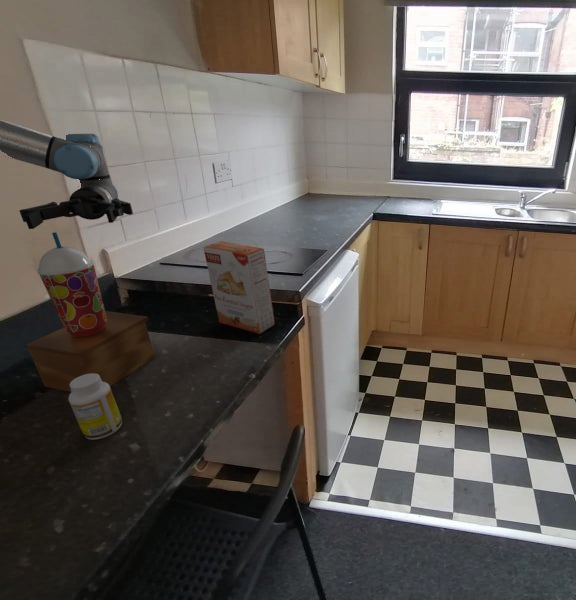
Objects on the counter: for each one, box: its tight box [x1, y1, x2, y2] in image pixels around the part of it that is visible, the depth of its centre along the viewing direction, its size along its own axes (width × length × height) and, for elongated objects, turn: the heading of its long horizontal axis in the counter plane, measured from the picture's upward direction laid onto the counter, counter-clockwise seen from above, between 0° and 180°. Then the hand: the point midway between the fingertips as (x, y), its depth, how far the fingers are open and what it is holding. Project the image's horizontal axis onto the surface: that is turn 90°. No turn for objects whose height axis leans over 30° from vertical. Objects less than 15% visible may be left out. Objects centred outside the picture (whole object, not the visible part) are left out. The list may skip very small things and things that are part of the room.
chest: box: [27, 322, 156, 393], centre depth 83 cm, size 15×13×9 cm
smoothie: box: [36, 232, 107, 337], centre depth 77 cm, size 8×8×20 cm
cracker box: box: [202, 240, 276, 335], centre depth 99 cm, size 14×6×21 cm, turn 65°
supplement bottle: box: [67, 373, 123, 441], centre depth 66 cm, size 6×6×10 cm
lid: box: [26, 310, 149, 357], centre depth 81 cm, size 16×13×1 cm
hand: (70, 219), depth 83 cm, fingers open, 13 cm apart
